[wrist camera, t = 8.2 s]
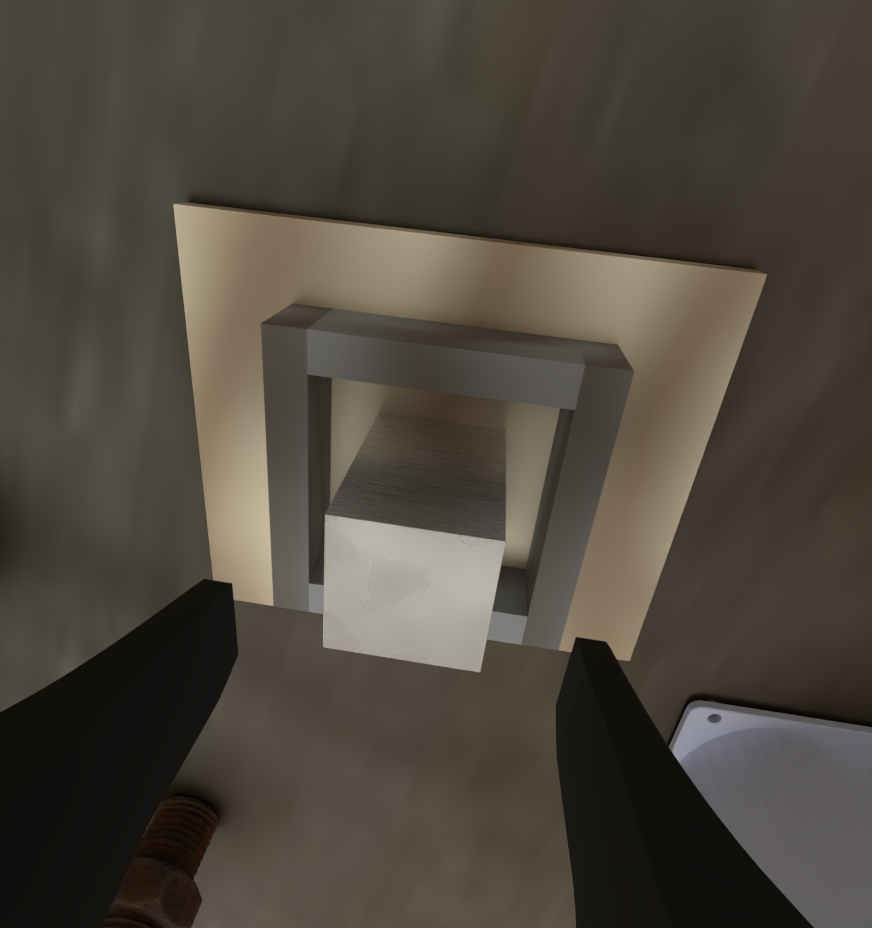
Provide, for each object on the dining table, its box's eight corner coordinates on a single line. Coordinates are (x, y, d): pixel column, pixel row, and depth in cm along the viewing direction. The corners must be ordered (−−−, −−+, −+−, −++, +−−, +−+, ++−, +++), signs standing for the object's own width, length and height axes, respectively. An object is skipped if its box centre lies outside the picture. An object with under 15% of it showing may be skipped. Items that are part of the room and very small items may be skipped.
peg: (506, 429, 18) (505, 541, 12) (487, 535, 20) (480, 672, 14) (379, 411, 18) (324, 514, 13) (372, 518, 20) (322, 646, 14)
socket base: (755, 269, 16) (810, 292, 13) (625, 645, 22) (642, 715, 19) (187, 202, 16) (121, 209, 14) (224, 583, 23) (184, 642, 20)
